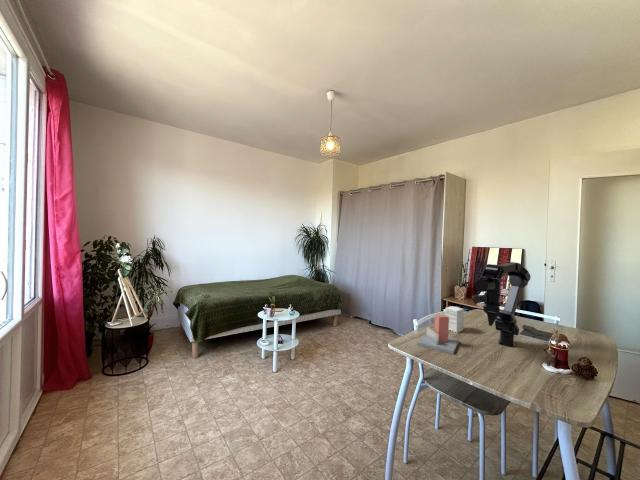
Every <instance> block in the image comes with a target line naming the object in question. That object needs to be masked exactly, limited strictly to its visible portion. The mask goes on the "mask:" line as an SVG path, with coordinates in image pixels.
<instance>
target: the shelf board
mask: <svg viewBox="0 0 640 480" xmlns="http://www.w3.org/2000/svg"><path fill="white" fill-rule="evenodd" d="M459 343H460V339H459V338H456V337H451V336H448V342H438V345H436V344H435V343H433V342H432V341H431V340H430V339H429V338H428V337H427V331H425V333H424V334H423V335H422V336H421V337H420V339H419V340H417V342H416V346H418V345H420V346H419V347H422V346H424V347H423V348H426V347H427V348H426V349H430V348H431V350H433V349H434V350H433V351H438V352H440V353H441V352H442V353H445V354H449V355H454V353H455V351H456V349H457V347H458V345H459Z"/></svg>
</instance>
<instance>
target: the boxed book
mask: <svg viewBox="0 0 640 480" xmlns="http://www.w3.org/2000/svg"><path fill="white" fill-rule="evenodd" d="M434 331H435V332H436V333H438V334H439V341H438V342H448V337H449V317H448V316H446V315H445V314H434Z"/></svg>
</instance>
